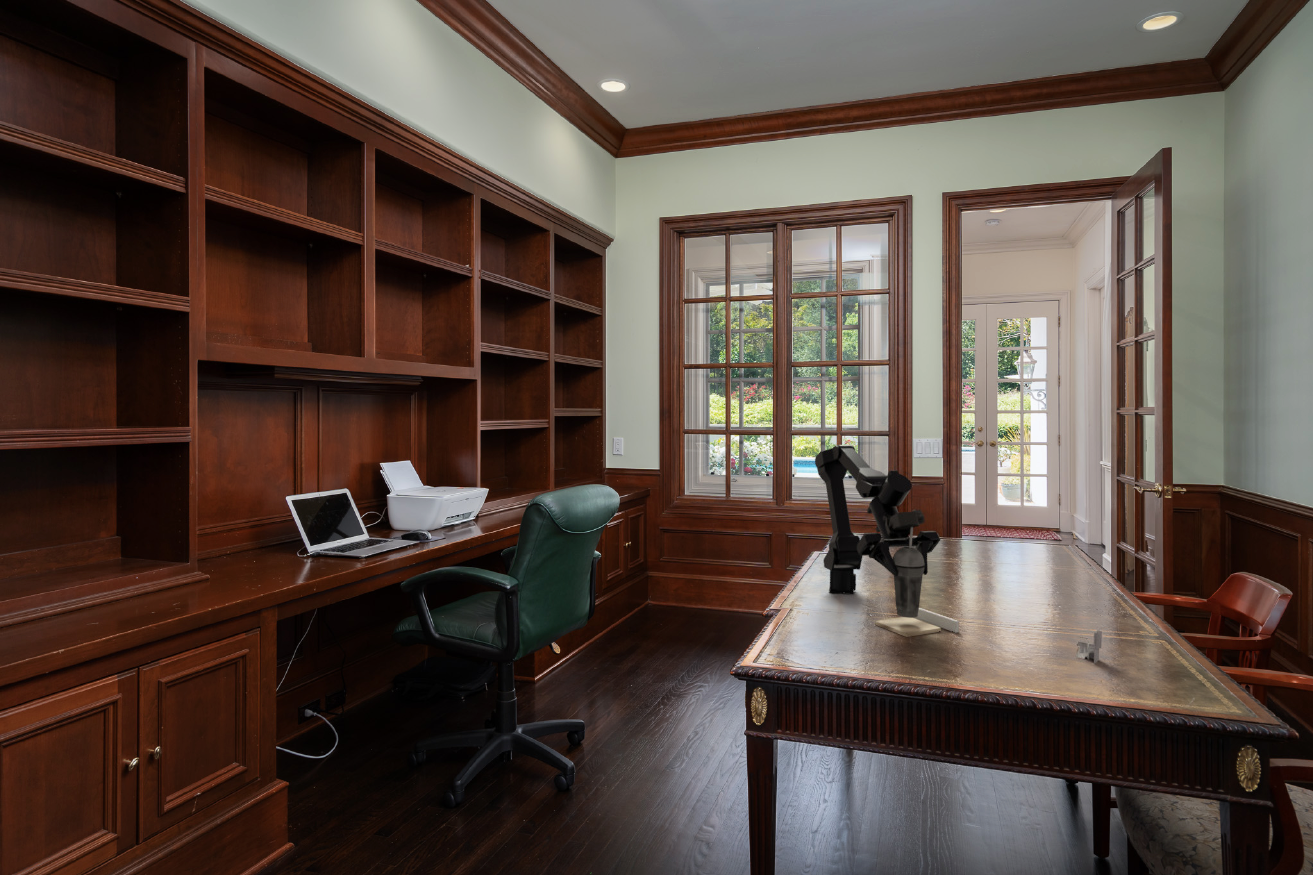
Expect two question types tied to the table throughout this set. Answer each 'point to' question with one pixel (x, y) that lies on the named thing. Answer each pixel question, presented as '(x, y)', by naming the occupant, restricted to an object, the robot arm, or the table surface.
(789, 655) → the table surface
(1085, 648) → the architectural model
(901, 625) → the coaster
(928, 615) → the divider wall
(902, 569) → the beverage cup
